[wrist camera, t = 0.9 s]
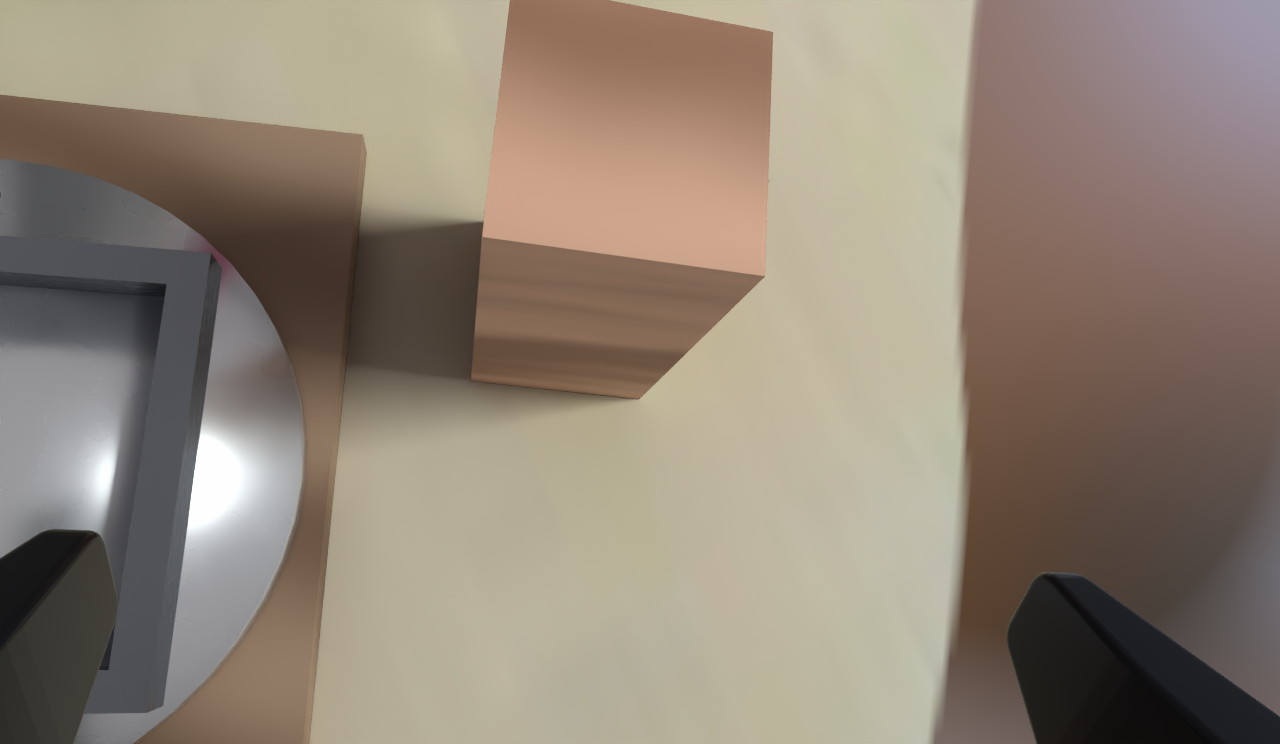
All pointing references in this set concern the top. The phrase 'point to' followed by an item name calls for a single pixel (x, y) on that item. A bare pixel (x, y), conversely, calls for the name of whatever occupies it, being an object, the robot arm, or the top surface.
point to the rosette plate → (144, 429)
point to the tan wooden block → (619, 193)
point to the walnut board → (299, 308)
